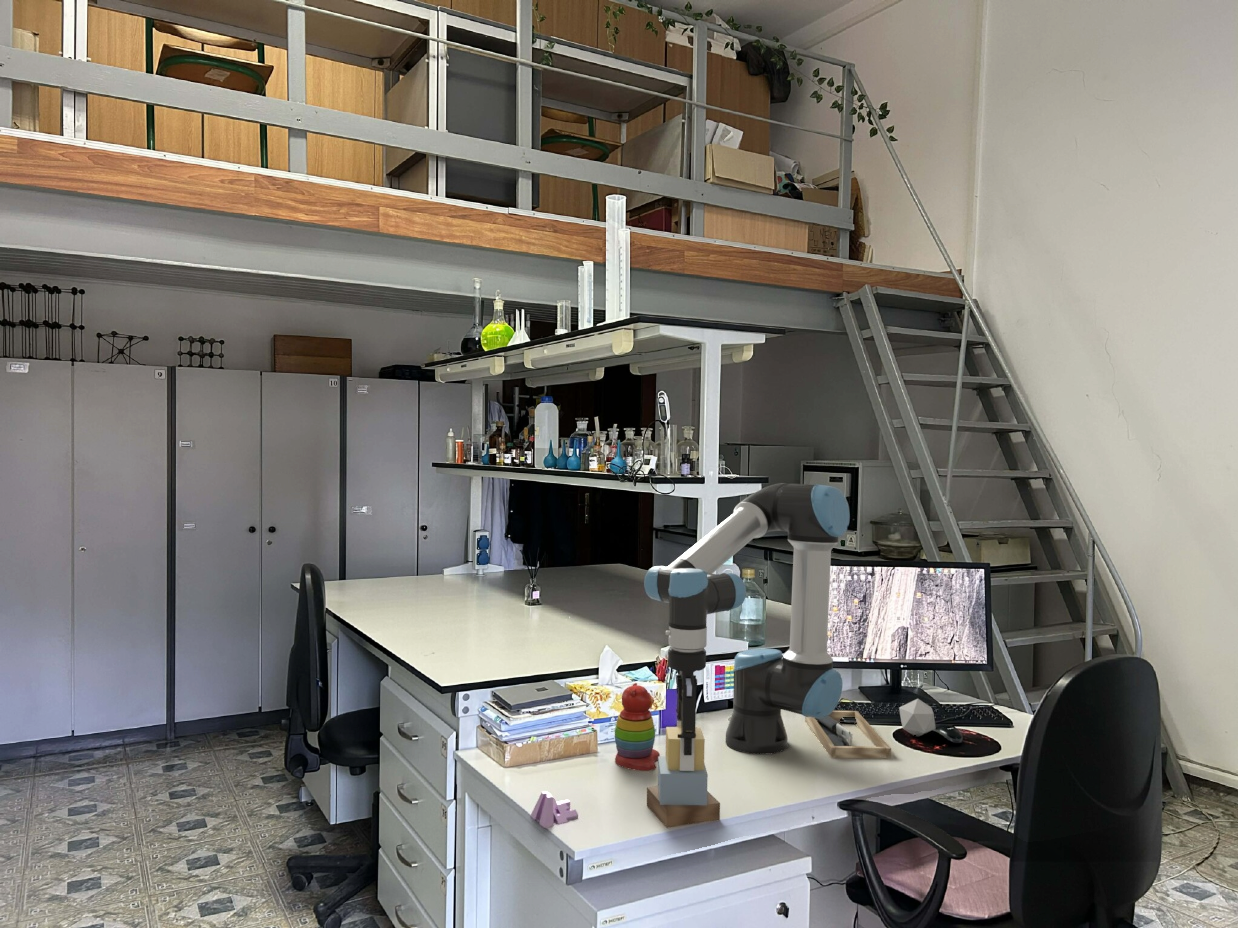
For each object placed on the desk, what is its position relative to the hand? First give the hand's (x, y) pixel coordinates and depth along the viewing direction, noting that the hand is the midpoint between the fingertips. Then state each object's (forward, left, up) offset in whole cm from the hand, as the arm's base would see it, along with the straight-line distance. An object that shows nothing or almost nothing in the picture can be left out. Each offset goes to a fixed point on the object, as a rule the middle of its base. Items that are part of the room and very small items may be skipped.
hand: (684, 761), depth 168 cm
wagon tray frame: (-44, -45, -11) cm, 64 cm away
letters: (+25, +4, -11) cm, 28 cm away
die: (-63, -48, -11) cm, 80 cm away
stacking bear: (+9, -28, -11) cm, 31 cm away
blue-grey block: (+1, +1, -6) cm, 7 cm away
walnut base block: (0, +1, -11) cm, 11 cm away
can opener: (-40, -45, -11) cm, 62 cm away
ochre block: (0, 0, 0) cm, 0 cm away
